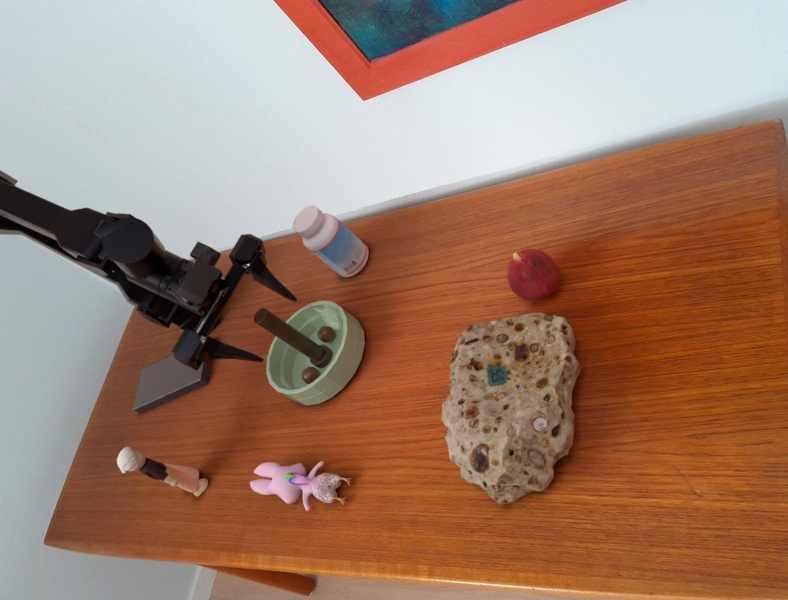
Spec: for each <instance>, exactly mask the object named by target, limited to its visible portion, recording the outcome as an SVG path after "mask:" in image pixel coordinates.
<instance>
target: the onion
mask: <svg viewBox="0 0 788 600" xmlns="http://www.w3.org/2000/svg"><path fill="white" fill-rule="evenodd" d="M506 272H507V273H506V278H507V282H508V285H509V288H510V290H511V292H512V293H514V294H515V295H516V296H517V297H519V298H520V299H522V300H525V301H530V302H536V301H537V302H538V301H542V300H544V299H547V298H548V297H549V296H550V295H551V294H552V293H554V291H555V290H556V288H557V286H558V285H559V277H560V276H559V274H560V271H559V268H558V266H557V264H556V262H555V260H554V259H553V257H552V256H551V255H549V254H547V253H546V252H544V250H541V249H536V248H527V249H523V250H521V251H519V250H515V251H514V252H513V253H512V258H511V260H510V261H509V263H508V266H507V271H506Z"/></svg>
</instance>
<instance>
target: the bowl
mask: <svg viewBox="0 0 788 600" xmlns="http://www.w3.org/2000/svg"><path fill="white" fill-rule="evenodd" d="M285 322H286V323H287V324H289V325H290V326H292V327H293V328H295V329H296V330H298V331H299V332H300V333H302V334H303V335H305V336H306V337H308V338H309V339H311V340H312V341H314V342H315V343H316V344H318V345H322V344H323V345H326V346H327V347H329V348H330V349H331V350H332V352H333V357H332V360H331V361H330V363H329V364H328V365H327V366H326V367H324V368H317V367H316V366H314V365H313V364H311V362H310V358H308V357H307V356H305V355H304V354H302V353H301V352H299V351H298V350H296V349H295V348H293V347H292V346H290V345H289V344H287V343H286V342H284V341H283V340H281V339H279V338H278V337H276V336H275V337H274V339H273V340H272V342H271V344H270V347H269V350H268V353H267V357H266V367H265V368H266V369H265V370H266V371H265V373H266V377H267V380H268V384H269V385H270V386H271V387H272V388H273V389H274V390H275V391H276V392H277V393H279V394H281V395H283V396H284V397H286V398H288V399H289V400H292V401H293V402H294V403H298V404H301V405H302V406H303V405H304V406H313V405H320V404H322V403H324V402H326V401H328V400H330V399H332V398H333V397H334V396H336V395H337V394H338V393H340V392H341V391H342V390H343V389H344V388H345V387H346V386H347V385H348V383H349V382H350V381H351V379H352V378H353V377H354V376H355V374H356V373H357V370H358V367H359V366H360V364H361V361H362V359H363V354H364V350H365V346H366V341H365V331H364V329H363V326H362V325H361V323H360V321H359V320H358V319H357V318H355V317H354V316H353V315H352V314H350V313H349V312H348V311H347V310H346V309H344V308H343V307H341V305H339V304H337V303H336V302H335V301H329V300H323V299H322V300H318V301H314V302H311V303H309V304H307V305H305V306H304V307H302V308H299V309H298V310H296V311H295V313H293V314H292V315H290V317H288V319H287V320H286V321H285ZM322 326H330V327H331V328H332V329H333V330H334V333H335V336H334V338H333V340H332V341H330V342H328V343H324V342H322V341H320V340H319V338H318V336H317V333H318V330H319V329H320V328H321V327H322ZM307 367H315V368H316V369H317V370H318V371H319V374H320V376H319V377H318V378H317V379H316V380H315V381H314V382H312V383H310V384H307V383H305V382H304V381H303V379H302V372H303V370H304V369H305V368H307Z"/></svg>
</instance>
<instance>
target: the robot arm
mask: <svg viewBox="0 0 788 600" xmlns="http://www.w3.org/2000/svg"><path fill="white" fill-rule="evenodd" d="M18 182H19V180H18V179H16V178H14V177H12V176H11V175H10V174H8V173H6V172H4V171H2V170H1V169H0V235H5V236H6V235H7V236H8V235H9V236H23V237H25V238H27V239H28V240H30V241H32V242H34V243H36V244H38V245H40V246H42V247H44V248H45V249H48V250H50V251H51V252H53V253H55V254H57V255H58V256H60V257H63V258H65V259H66V260H68V261H70V262H72V263H73V264H76V265H77V266H79V267H82V268H83V269H85V270H87V271H89V272H91V273H93V274H95V275H96V276H98V277H100V278H102V279H104V280H105V281H108V282H109V283H111V284H113V285H115V286H117V288H118V289H119V291H120V293H121V294H122V296H123V297H124V299H125V301H126V302H127V303H128V304H130V305H132V306H134V307H135V312H137V313H138V314H139V315H140V316H141V317H142V318H144V319H145V320H147V321H149V322H151V323H153V324H155V325H156V326H160V327H163V328H166V329H170V327H171V324H173V325H174V326H177V327H178V328H180V329H182V333H181V334H180V336H179V338H178V339H177V341H176V343H175V344H174V346H173V347H172V350H171V356H172V355H173V357H174V358H175V359H176V360H178V361H179V362H180V363H182V364H184V365H186V366H188V367H190V368H192V369H194V370H196V371H197V370H198V369H199V368H200V366H201V365H202V363H205V364H207V365H208V364H209V363H210V362H211V363H212V361H213V360H239V361H245V362H246V361H247V362H254V363H263V362H264V358H263V357H260V356H259V355H257V354H255V353H253V352H251V351H248V350H245V349H242V348H239V347H236V346H234V345H231V344H228V343H225V342H222V341H220V340H218V339H216V338H213V337H211V336H210V334H211V332H212V330H213V329H214V328H215V327H216V326H217V325H218V324H219V323H220V321H221V320H220V317H221V315H222V313H223V311H225V308H226V307H227V305H228V303H229V302H230V300H231V298H232V296H233V295H234V293H235V291H236V290H237V288H238V286H239V285H240V283H241V281H242V280H243V278H244V276H245V275H251V276H252V278H253V281H255V282H256V283H259V284H260V285H262V286H264V287H265V288H267V289H268V290H270V291H272V292H274V293H275V294H277V295H279V296H281V297H282V298H284V299H286V300H289V301H291V302H293V303H297V301H298V297H296V296H295V295H294V294H293V293H292V292H291V291H290V289H288V288H287V287H286V286H285V285H283V283H282V282H281V281H280V280H279V279H278V278H277V277H276V276H275V275H274V274H273V273H272V272H271V270H270V269H269V268H268V267H267V264H268V261H267V258H266V254H267V251H266V247H265V245H264V242H263V239H262V238H259V237H258V236H256V235H254V234H251V233H244V234H241V235H240V236H239V238H238V239H237V241H236V242H235V244H234V245H233V248H232V250H231V251H230V253H229V254H228V258H229V260H230V262H231V263H232V266H231V267H230V268H229V270H228V272H227V274H226V275H225V277H223V275H224V274H223V272H222V269H220V268H218V267H217V266H216V265H217V263H218V261H219V260H220V258H221V256H222V254H221V252H219V251H218V250H216V249H214V248H213V247H211V246H209V245H207V244H205V243H203V242H201V241H197V242H196V243H195V245H194V247H193V248H192V250H191V251H190V253H189V256H190V257H191V258H192V259H193V260H194V261H192V260H189V259H187V258H184V257H181V256H179V255H178V254H175V253H173V252H171V251H169V250H167V249H166V247H165V245H164V244H163V243H162V242H161V240H160V239H159V237H158V236H157V235H156V233H155V232H154V231H153V230H152V228H151V227H150V226H149V225H148V223H146V222H145V221H143V220H142V219H140V218H137V217H136V216H134V215H133V214H131V213H122V212H121V213H119V212H118V213H114V212H110V211H106V212H105V213H103V212H100V211H98V210H95V209H92V208H90V207H81V208H76V209H68V208H67V207H64V206H61V205H59V204H57V203H54V202H53V201H50V200H48V199H46V198H43V197H41V196H39V195H36V194H34V193H32V192H29V191H27V190H25V189H23V188H20V187H19V186H16V185H17V183H18Z"/></svg>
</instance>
